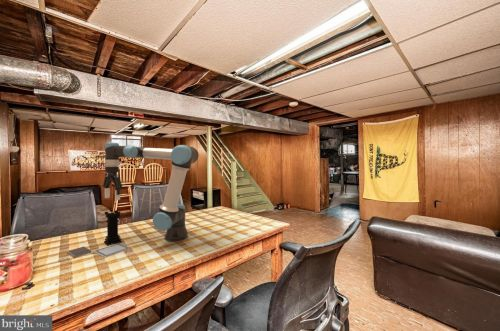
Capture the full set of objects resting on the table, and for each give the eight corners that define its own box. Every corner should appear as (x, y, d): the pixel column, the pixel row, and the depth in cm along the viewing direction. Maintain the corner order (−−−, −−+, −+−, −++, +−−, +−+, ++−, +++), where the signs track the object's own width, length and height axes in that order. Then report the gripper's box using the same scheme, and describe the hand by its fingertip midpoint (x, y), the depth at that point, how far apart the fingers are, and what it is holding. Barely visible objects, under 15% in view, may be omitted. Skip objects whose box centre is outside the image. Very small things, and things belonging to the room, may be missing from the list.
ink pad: (84, 248, 124) (84, 246, 124) (91, 252, 119) (91, 249, 119) (67, 253, 117) (67, 250, 117) (74, 257, 112) (74, 255, 112)
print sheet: (119, 243, 132) (119, 242, 132) (130, 248, 124) (130, 247, 124) (93, 251, 120) (93, 250, 120) (104, 257, 112) (104, 256, 112)
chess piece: (103, 242, 134) (103, 212, 134) (118, 239, 140) (117, 209, 139) (107, 245, 128) (106, 214, 128) (121, 242, 134) (121, 211, 134)
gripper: (96, 166, 137) (96, 197, 137) (115, 166, 124) (115, 201, 124) (109, 166, 143) (109, 196, 143) (128, 166, 130) (128, 199, 130)
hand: (112, 198), depth 134 cm, fingers open, 13 cm apart
